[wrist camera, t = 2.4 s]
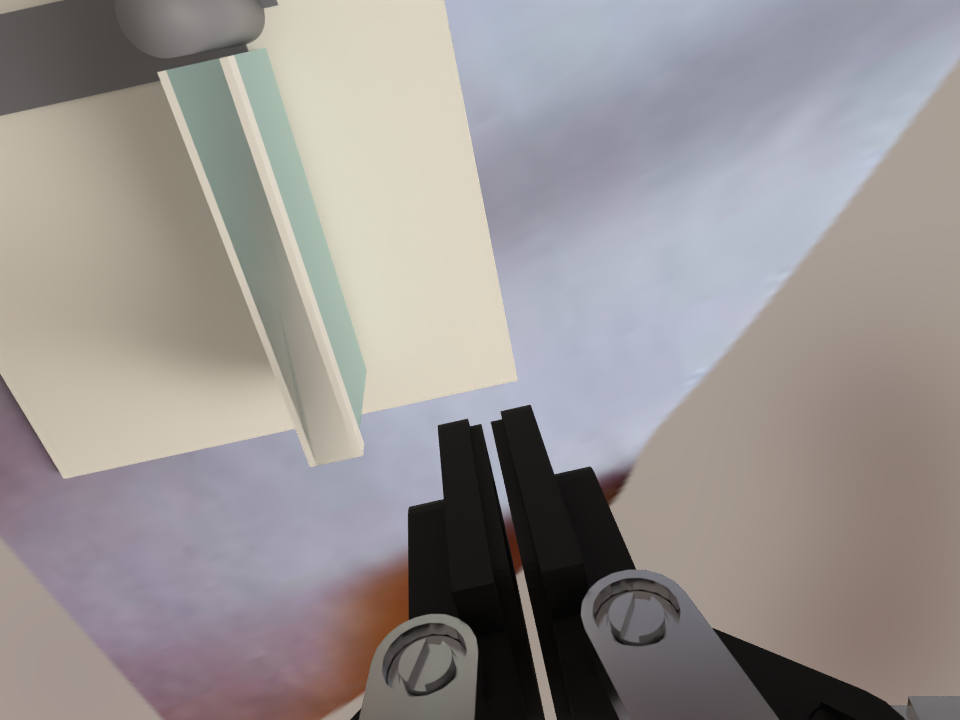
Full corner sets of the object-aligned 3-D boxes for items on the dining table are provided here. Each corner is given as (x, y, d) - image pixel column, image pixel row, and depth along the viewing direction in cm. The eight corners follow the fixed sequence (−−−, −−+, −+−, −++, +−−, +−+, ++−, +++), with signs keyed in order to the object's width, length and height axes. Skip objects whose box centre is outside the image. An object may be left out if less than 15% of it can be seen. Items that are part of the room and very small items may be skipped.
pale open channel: (272, 46, 20) (228, 56, 15) (372, 369, 25) (362, 455, 20) (219, 58, 20) (157, 71, 15) (329, 378, 25) (309, 467, 20)
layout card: (267, -907, 13) (261, -939, 13) (516, 375, 27) (518, 381, 26) (-631, -699, 13) (-668, -724, 13) (68, 473, 27) (62, 480, 26)
